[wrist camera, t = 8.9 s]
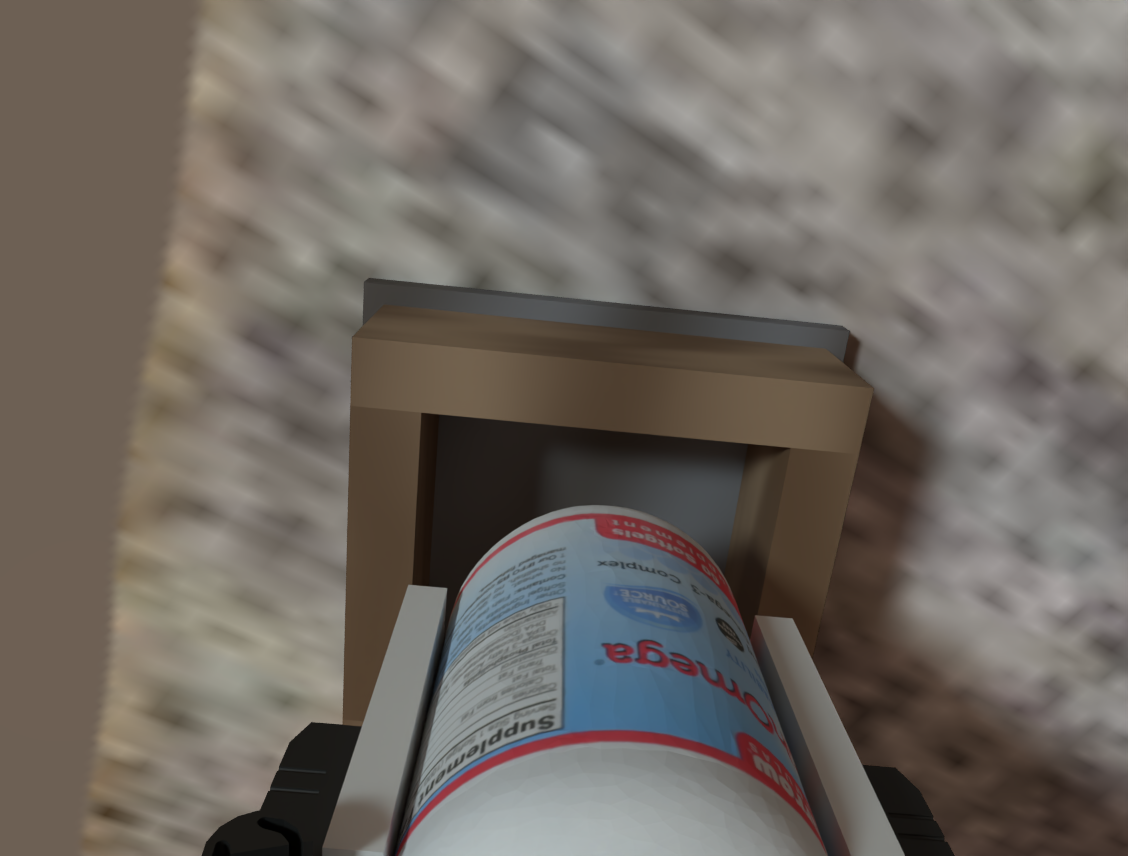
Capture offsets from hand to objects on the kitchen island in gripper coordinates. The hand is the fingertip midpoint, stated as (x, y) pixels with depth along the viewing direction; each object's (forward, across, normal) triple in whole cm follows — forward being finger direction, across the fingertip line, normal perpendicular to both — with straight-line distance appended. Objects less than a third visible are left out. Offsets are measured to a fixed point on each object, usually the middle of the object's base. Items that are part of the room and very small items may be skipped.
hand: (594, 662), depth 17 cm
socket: (+7, 0, 0) cm, 7 cm away
